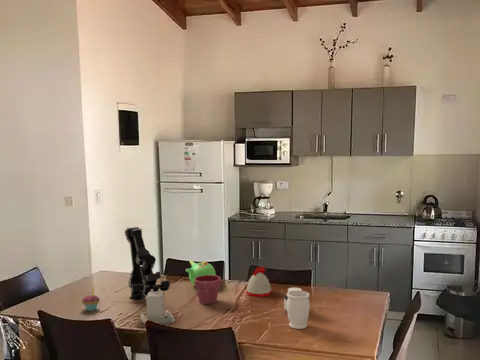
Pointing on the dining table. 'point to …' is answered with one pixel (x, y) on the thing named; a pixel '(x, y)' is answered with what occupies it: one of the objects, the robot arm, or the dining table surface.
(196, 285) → the plant pot
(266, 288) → the chicken egg cooker
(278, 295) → the dining table surface
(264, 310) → the dining table surface
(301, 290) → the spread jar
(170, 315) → the bay
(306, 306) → the jar
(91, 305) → the cupcake
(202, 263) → the toy bird
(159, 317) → the supplement box
